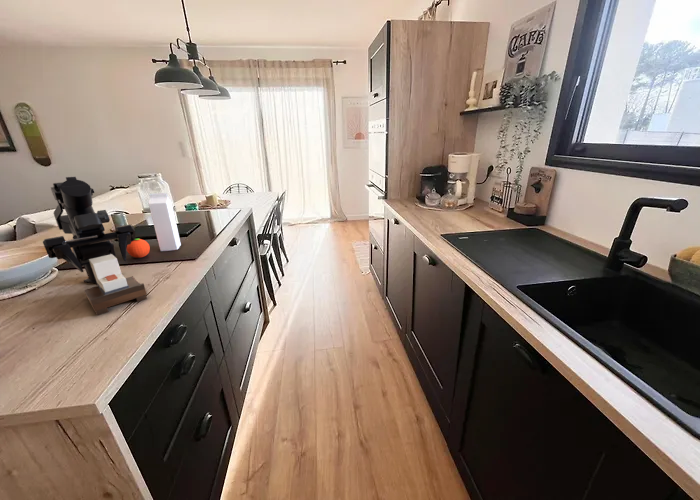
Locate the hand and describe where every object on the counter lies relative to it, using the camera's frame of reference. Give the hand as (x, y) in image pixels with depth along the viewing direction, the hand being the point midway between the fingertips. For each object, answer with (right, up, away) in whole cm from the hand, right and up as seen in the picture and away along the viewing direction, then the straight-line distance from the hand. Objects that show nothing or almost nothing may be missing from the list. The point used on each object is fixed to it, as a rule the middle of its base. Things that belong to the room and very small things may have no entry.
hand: (104, 265), depth 77 cm
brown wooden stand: (+3, -9, +1) cm, 10 cm away
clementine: (-12, +2, +30) cm, 32 cm away
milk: (-6, +5, +38) cm, 39 cm away
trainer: (+2, -6, +1) cm, 6 cm away
